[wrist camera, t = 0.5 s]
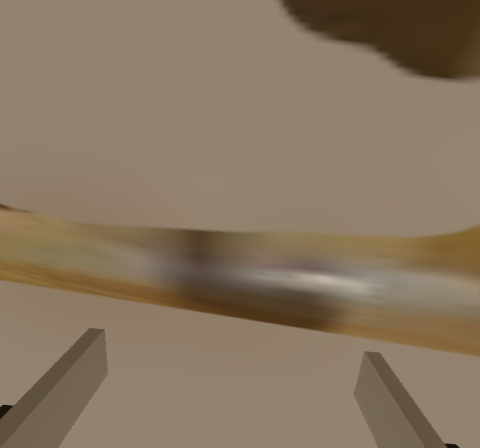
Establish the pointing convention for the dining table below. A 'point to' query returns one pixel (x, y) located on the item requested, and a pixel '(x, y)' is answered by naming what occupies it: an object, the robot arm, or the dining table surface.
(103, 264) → the dining table surface
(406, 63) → the dining table surface
